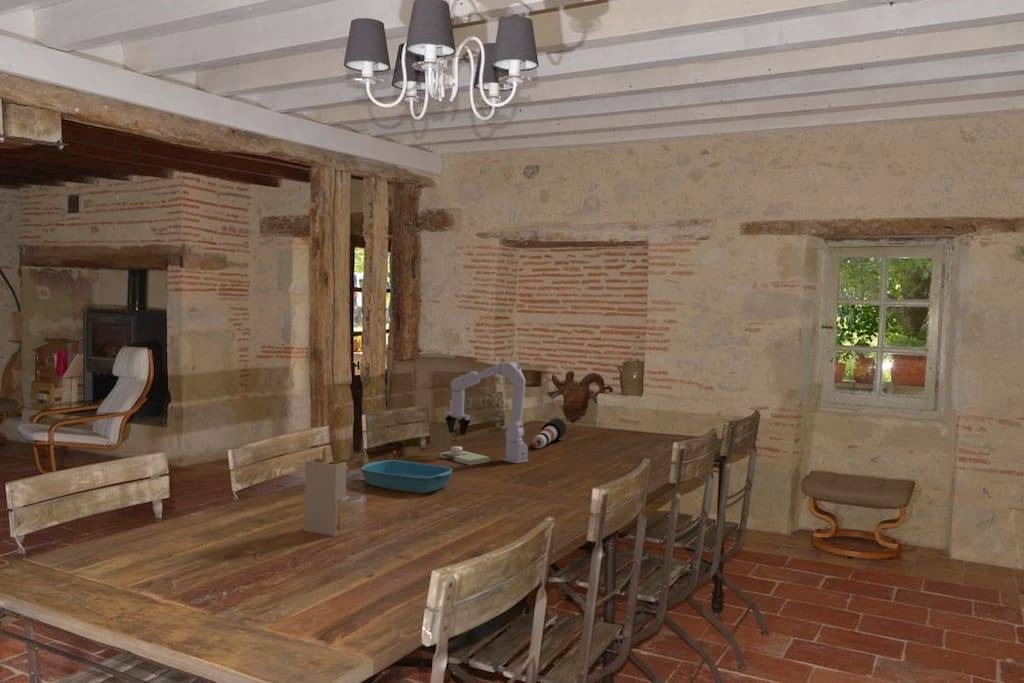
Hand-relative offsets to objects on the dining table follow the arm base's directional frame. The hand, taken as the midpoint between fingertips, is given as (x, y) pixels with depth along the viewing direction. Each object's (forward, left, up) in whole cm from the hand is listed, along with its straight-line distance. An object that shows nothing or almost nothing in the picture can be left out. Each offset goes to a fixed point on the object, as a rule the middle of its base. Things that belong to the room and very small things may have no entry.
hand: (457, 433), depth 367 cm
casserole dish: (-32, +53, -10) cm, 63 cm away
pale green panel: (-9, +3, -10) cm, 14 cm away
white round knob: (-5, +4, -10) cm, 12 cm away
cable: (-5, -55, -10) cm, 56 cm away
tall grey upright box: (-64, +108, -10) cm, 127 cm away
